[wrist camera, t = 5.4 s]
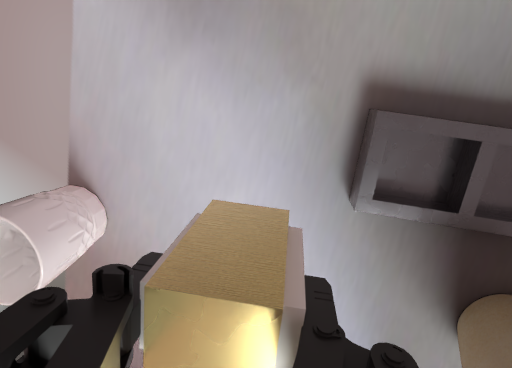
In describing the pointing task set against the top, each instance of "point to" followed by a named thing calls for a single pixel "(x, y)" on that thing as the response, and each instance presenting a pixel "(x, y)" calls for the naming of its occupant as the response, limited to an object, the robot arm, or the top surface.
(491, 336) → the plant pot
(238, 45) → the top surface
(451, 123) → the divided tray
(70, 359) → the robot arm
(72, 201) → the white cup
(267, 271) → the brass block
